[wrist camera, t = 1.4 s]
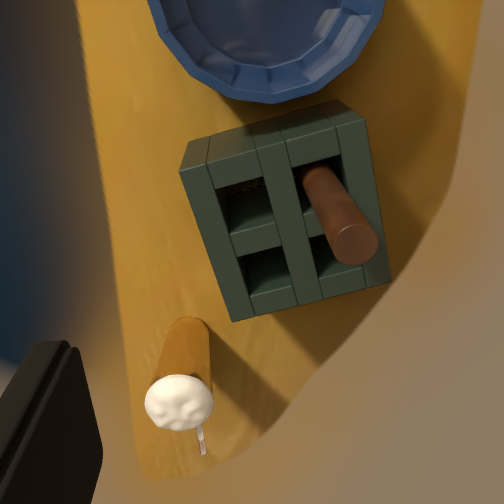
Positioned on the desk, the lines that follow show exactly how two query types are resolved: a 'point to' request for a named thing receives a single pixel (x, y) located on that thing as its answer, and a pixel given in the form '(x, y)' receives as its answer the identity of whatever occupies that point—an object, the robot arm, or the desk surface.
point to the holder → (281, 209)
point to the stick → (338, 214)
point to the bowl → (266, 42)
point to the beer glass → (183, 380)
